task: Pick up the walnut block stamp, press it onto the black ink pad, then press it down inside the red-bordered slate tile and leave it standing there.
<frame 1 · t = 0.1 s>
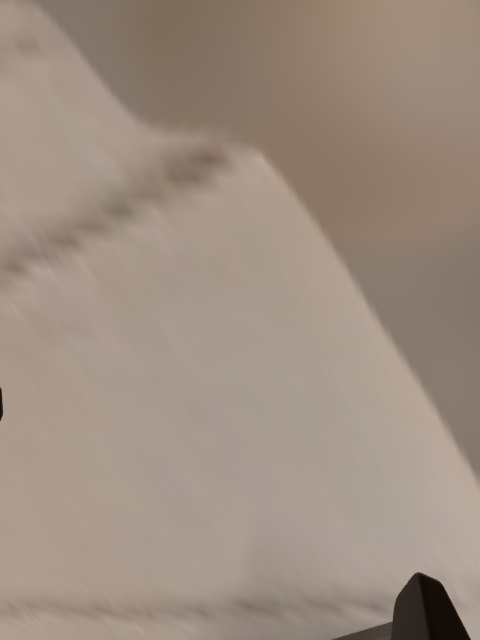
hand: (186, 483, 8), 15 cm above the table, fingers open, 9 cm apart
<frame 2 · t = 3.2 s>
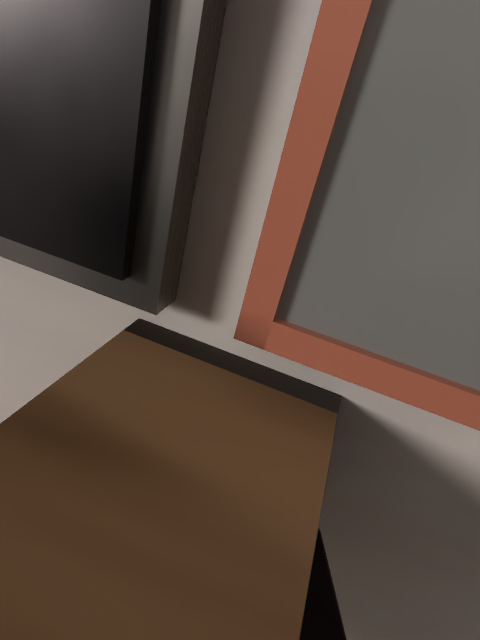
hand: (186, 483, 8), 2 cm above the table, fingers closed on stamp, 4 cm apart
ink pad: (3, 23, 7), on the table
stamp: (213, 434, 10), on the table, touching gripper
when the fingers open (2 cm above the table, at t = 10.8 s): stamp stays where it is, resting on tile.
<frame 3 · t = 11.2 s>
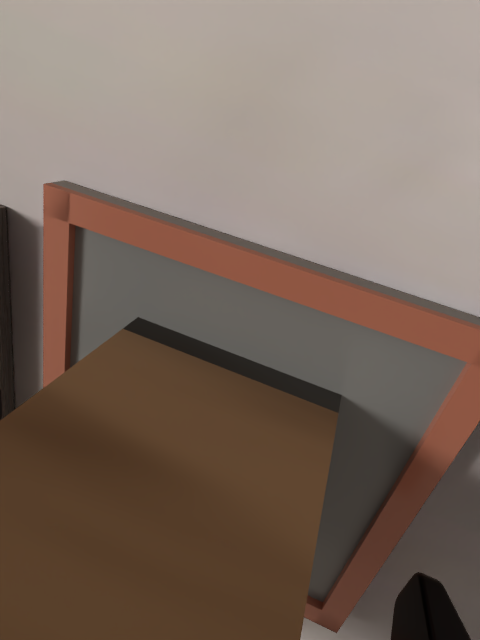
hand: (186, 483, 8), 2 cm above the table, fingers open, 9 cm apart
tile: (220, 424, 10), on the table
stamp: (213, 433, 10), resting on tile
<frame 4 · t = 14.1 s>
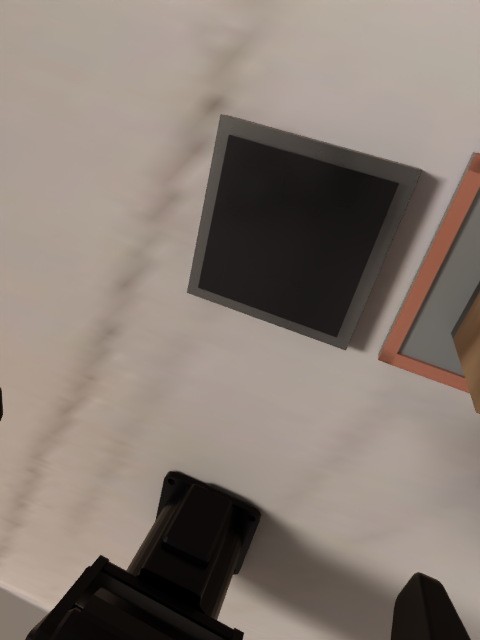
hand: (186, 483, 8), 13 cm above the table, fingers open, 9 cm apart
ink pad: (291, 236, 18), on the table
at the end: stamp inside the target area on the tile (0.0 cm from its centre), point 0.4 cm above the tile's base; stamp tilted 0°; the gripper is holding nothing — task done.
